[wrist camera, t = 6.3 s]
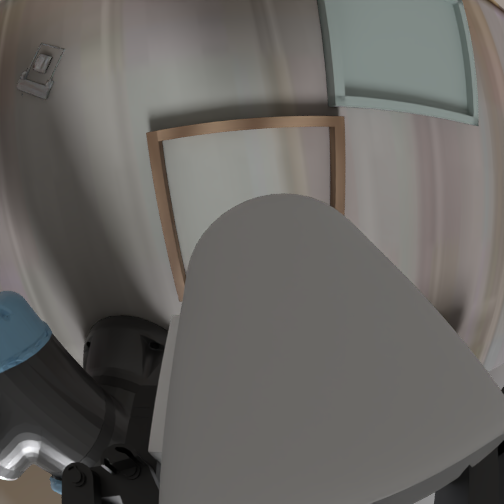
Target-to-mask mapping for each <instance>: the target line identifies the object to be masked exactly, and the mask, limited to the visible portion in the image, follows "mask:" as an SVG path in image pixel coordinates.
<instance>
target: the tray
mask: <svg viewBox="0 0 504 504" xmlns="http://www.w3.org/2000/svg"><path fill="white" fill-rule="evenodd" d="M317 3H318V10H319V16H320V24H321V31H322V39H323V48H324V58H325V68H326V80H327V93H328V106H332V107H353V108H367V109H379V110H388V111H397V112H405V113H412V114H419V115H425V116H431V117H436V118H442V119H447V120H452V121H456V122H461V123H465V124H470V125H475V126H478V94H477V81H476V71H475V62H474V55H473V49H472V43H471V37H470V32H469V27H468V22H467V18H466V14H465V10H464V6H463V3H462V0H317Z"/></svg>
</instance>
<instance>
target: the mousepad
mask: <svg viewBox="0 0 504 504" xmlns="http://www.w3.org/2000/svg"><path fill="white" fill-rule="evenodd" d="M41 45H46V44H42V43H41V44H40V46H39V48H38V50H37V52H36V54H35V56H34V59H35V57H36V55H37V53H38V51H39V49H40V47H41ZM46 46H50V45H46ZM50 47H54V46H50ZM54 48H58V47H54ZM58 49H61V50H64V51H65V49H62V48H58ZM64 51H63V53H64ZM63 53H62V55H63ZM62 55H61V57H62ZM61 57H60V59H61ZM51 58H52V57H51V56H47V55H44V54H40V56H39V57H37V59H36V61H35V64H34V66H33V68H34V69H33V70H35V71H38V72H41V73H44V72H45V71H46V70H45V69H48V68H46V67H49V66H47V65H48V63H49V61H50V59H51ZM34 59H33V61H34ZM60 59H59V61H60ZM33 61H32V63H33ZM59 61H58V63H59ZM32 63H31V65H30V67H29V68H27V70H26V72H22V75H21V77H20V78H21V79H20V80H19V82H18V83H17V89H19V90H22V91H24V92H27V93H30V94H32V95H35V96H38V97H40V98H43V99H45V100H46V99H47V97H48V94H49V92H50V90H51V87H52V85H53V82H54V81H51V79H52V76H53V74H54V72H55V70H56V67H57V65H58V63H57V65H56V67H55V69H54V71H53V74H52V76H51V78H50V80H47V83H46V85H45V86H44V85H41V84H38V83H35V82H33V81H30V80H27V79H26V77H27V75H28V72H29V70H30V68H31V66H32ZM49 65H50V64H49ZM22 95H23V94H22Z"/></svg>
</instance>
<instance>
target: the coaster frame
mask: <svg viewBox="0 0 504 504" xmlns="http://www.w3.org/2000/svg"><path fill="white" fill-rule="evenodd" d="M280 127H329V130H330V171H331V195H330V206H331V207H333V208H335V209H336V210H337V211H339V212H340V213H341V214H343V215H344V210H345V123H344V117H343V116H284V117H263V118H249V119H237V120H227V121H218V122H209V123H201V124H194V125H187V126H181V127H175V128H169V129H163V130H158V131H153V132H148V133H146V135H147V142H148V149H149V156H150V163H151V169H152V175H153V182H154V187H155V193H156V199H157V204H158V209H159V214H160V219H161V224H162V229H163V234H164V239H165V243H166V248H167V252H168V257H169V261H170V265H171V270H172V274H173V278H174V282H175V286H176V290H177V294H178V297H179V301H180V302H182V301H183V295H184V288H185V281H186V275H185V270H184V266H183V261H182V256H181V252H180V247H179V242H178V237H177V231H176V226H175V221H174V215H173V210H172V204H171V198H170V192H169V186H168V180H167V173H166V167H165V160H164V153H163V145H162V141H163V140H169V139H175V138H181V137H188V136H195V135H202V134H210V133H218V132H227V131H237V130H249V129H262V128H280Z"/></svg>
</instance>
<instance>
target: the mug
mask: <svg viewBox="0 0 504 504" xmlns="http://www.w3.org/2000/svg"><path fill="white" fill-rule="evenodd" d="M503 440H504V394H503V393H502V391H501V390H500V388H499V387H498V385H497V384H496V383H495V381H494V380H493V379H492V377H491V376H490V374H489V373H488V372H487V370H486V369H485V368H484V366H483V365H482V364H481V362H480V361H479V360H478V359H477V357H476V356H475V355H474V353H473V352H472V351H471V350H470V348H469V347H468V346H467V345H466V343H465V342H464V341H463V340H462V339H461V337H460V336H459V335H458V334H457V333H456V331H455V330H454V329H453V328H452V327H451V325H450V324H449V323H448V322H447V321H446V320H445V319H444V317H443V316H442V315H441V314H440V313H439V312H438V311H437V309H436V308H435V307H434V306H433V305H432V304H431V303H430V302H429V301H428V299H427V298H426V297H425V296H424V295H423V294H422V293H421V292H420V291H419V290H418V289H417V288H416V287H415V286H414V284H413V283H412V282H411V281H410V280H409V279H408V278H407V277H406V276H405V275H404V274H403V273H402V272H401V271H400V270H399V269H398V268H397V267H396V266H395V265H394V264H393V263H392V262H391V261H390V260H389V259H388V258H387V257H386V256H385V255H384V254H383V253H382V252H381V251H380V250H379V249H378V248H377V247H376V246H375V245H374V244H373V243H372V242H371V241H370V240H369V239H368V238H367V237H366V236H365V235H364V234H363V233H362V232H361V231H360V230H359V229H358V228H357V227H356V226H355V225H354V224H353V223H352V222H351V221H350V220H348V219H347V218H346V217H345V216H344V215H343V214H341V213H340V212H339V211H337V210H336V209H335V208H333V207H331V206H330V205H328V204H326V203H324V202H322V201H319V200H317V199H314V198H311V197H307V196H302V195H297V194H271V195H266V196H261V197H257V198H254V199H251V200H248V201H245V202H243V203H241V204H239V205H237V206H235V207H233V208H231V209H230V210H228V211H227V212H225V213H224V214H222V215H221V216H220V217H219V218H218V219H217V220H216V221H214V222H213V223H212V224H211V225H210V226H209V228H208V229H207V230H206V231H205V232H204V233H203V235H202V236H201V238H200V240H199V241H198V243H197V244H196V246H195V249H194V251H193V253H192V256H191V259H190V262H189V266H188V270H187V274H186V281H185V288H184V295H183V301H182V307H181V313H180V319H179V325H178V331H177V337H176V344H175V350H174V357H173V363H172V370H171V377H170V385H169V392H168V400H167V409H166V418H165V427H164V437H163V447H162V459H161V472H160V488H159V504H414V503H416V502H417V501H419V500H421V499H423V498H425V497H427V496H429V495H431V494H432V493H434V492H436V491H438V490H439V489H441V488H443V487H444V486H446V485H447V484H449V483H451V482H452V481H454V480H455V479H457V478H458V477H459V476H460V475H461V474H462V472H463V471H464V470H465V469H466V468H467V467H468V465H470V466H471V467H473V466H475V465H476V464H477V463H479V462H480V461H481V460H482V459H484V458H485V457H486V456H487V455H488V454H489V453H491V452H492V451H493V450H494V449H495V448H496V447H497V446H498V445H499V444H500V443H501V442H502V441H503Z"/></svg>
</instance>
